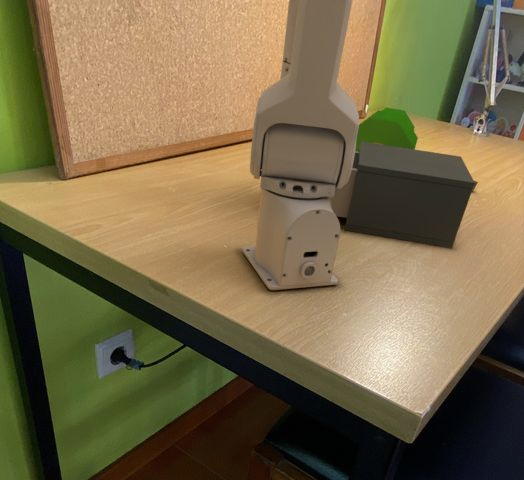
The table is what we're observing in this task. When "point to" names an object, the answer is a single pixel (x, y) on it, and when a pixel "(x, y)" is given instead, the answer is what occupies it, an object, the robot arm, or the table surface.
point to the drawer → (345, 192)
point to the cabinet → (409, 194)
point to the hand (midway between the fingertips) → (290, 174)
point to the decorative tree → (388, 129)
